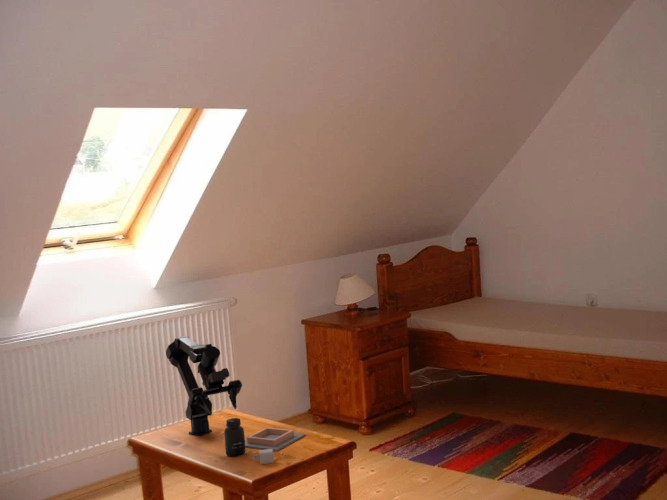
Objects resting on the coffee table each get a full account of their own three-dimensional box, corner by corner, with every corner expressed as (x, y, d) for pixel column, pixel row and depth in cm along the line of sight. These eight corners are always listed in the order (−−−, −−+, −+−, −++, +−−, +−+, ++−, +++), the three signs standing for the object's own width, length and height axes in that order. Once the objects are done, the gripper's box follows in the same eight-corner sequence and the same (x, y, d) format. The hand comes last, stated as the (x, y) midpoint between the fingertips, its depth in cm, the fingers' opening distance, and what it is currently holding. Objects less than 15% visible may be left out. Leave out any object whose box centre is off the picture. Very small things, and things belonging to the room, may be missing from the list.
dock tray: (235, 446, 283) (234, 439, 282) (265, 431, 298) (265, 424, 298) (276, 451, 273) (276, 443, 273) (305, 435, 288) (305, 428, 288)
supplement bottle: (237, 458, 269) (234, 423, 268) (222, 456, 273) (218, 421, 272) (250, 451, 275) (246, 417, 274) (234, 449, 279) (231, 416, 278)
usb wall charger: (273, 463, 261) (272, 451, 260) (252, 466, 260) (251, 454, 260) (273, 459, 265) (272, 448, 264) (252, 462, 264) (251, 450, 264)
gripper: (188, 366, 278) (203, 403, 270) (237, 357, 288) (253, 392, 279) (183, 385, 286) (196, 421, 277) (231, 375, 295) (246, 410, 286)
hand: (223, 411), depth 280 cm, fingers open, 9 cm apart
